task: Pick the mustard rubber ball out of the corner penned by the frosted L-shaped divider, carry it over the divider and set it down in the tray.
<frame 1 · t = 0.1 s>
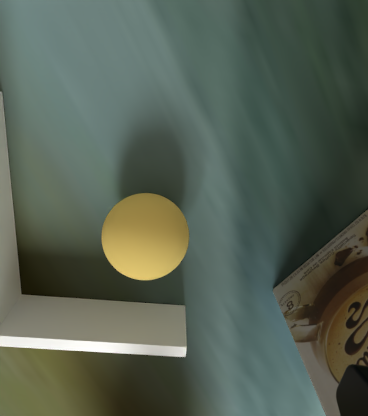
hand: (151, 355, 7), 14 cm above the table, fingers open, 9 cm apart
divider: (6, 207, 21), on the table
ball: (149, 218, 22), on the table
brown upright rectangular box: (344, 272, 24), on the table
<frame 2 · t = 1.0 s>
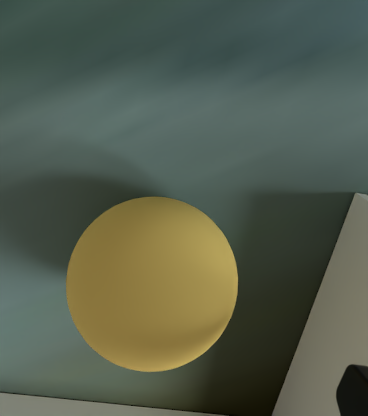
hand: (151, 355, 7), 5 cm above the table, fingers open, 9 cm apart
divider: (130, 412, 16), on the table
ball: (158, 241, 13), on the table
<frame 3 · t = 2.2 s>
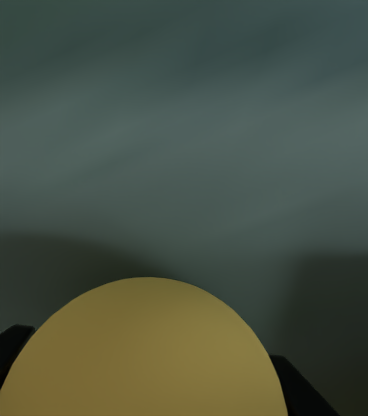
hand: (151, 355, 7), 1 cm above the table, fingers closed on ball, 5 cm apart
ball: (153, 323, 8), on the table, touching gripper
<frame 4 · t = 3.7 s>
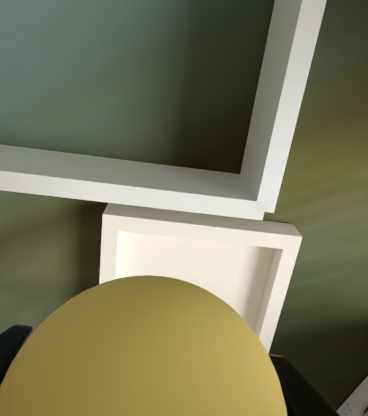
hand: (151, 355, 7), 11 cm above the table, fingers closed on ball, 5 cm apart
tray: (189, 290, 20), on the table
divider: (110, 165, 17), on the table
ball: (152, 321, 8), point 10 cm above the table, touching gripper
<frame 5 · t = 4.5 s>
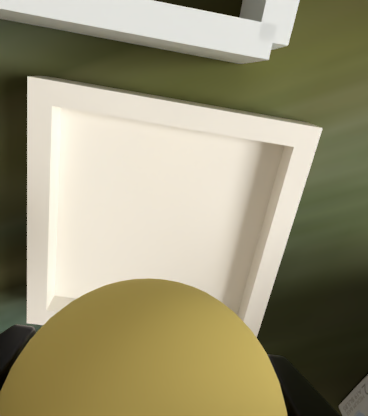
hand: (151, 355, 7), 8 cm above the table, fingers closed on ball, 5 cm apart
tray: (160, 219, 15), on the table
divider: (46, 14, 12), on the table
ball: (153, 324, 8), point 7 cm above the table, touching gripper
when the fingers open (3 cm above the table, at t = 5.3 s): ball drops 2 cm, resting on tray.
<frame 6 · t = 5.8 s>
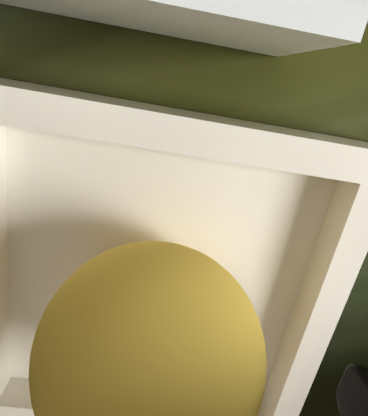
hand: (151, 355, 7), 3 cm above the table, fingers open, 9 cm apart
tray: (157, 275, 10), on the table
ball: (156, 287, 10), point 1 cm above the table, touching tray
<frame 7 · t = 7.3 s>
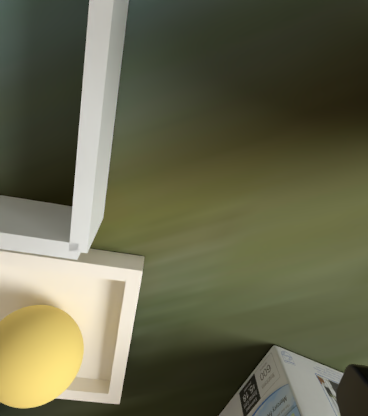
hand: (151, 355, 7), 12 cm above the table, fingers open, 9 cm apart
tray: (51, 315, 21), on the table
light bulb box: (270, 405, 25), on the table
ball: (48, 321, 20), point 1 cm above the table, touching tray
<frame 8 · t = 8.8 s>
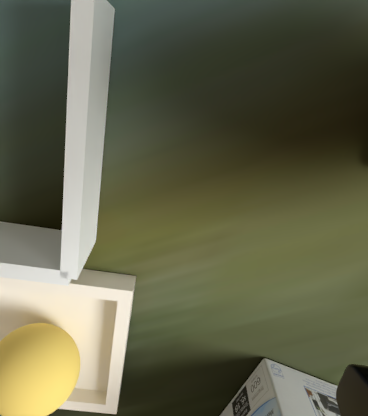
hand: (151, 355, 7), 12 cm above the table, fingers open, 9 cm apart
tray: (51, 330, 22), on the table
light bulb box: (263, 414, 26), on the table
ball: (48, 337, 22), point 1 cm above the table, touching tray
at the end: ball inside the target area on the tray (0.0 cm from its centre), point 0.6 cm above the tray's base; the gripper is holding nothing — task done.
